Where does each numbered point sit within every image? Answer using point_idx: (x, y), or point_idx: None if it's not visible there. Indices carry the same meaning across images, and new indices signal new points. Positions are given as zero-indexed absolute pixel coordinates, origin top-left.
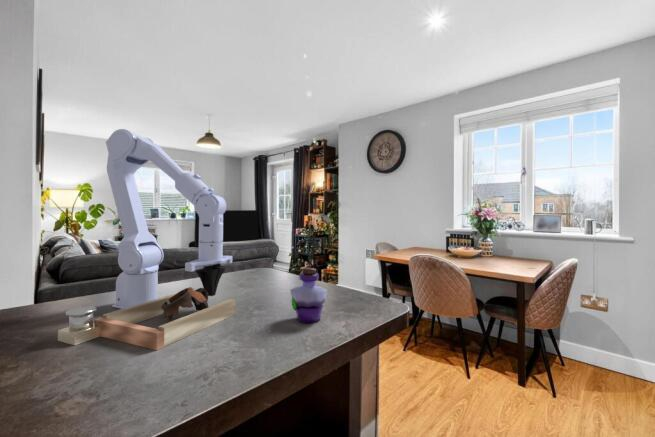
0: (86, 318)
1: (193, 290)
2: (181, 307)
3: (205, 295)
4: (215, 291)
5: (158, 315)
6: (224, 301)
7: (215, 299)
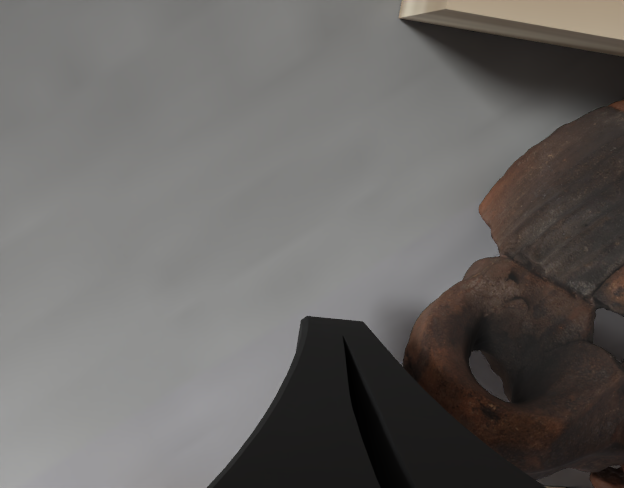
0: None
1: None
2: None
3: (464, 352)
4: (320, 331)
5: None
6: (585, 24)
7: (63, 392)
